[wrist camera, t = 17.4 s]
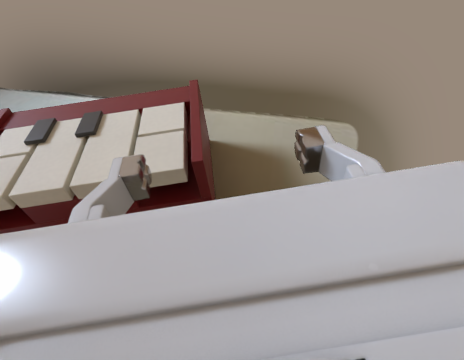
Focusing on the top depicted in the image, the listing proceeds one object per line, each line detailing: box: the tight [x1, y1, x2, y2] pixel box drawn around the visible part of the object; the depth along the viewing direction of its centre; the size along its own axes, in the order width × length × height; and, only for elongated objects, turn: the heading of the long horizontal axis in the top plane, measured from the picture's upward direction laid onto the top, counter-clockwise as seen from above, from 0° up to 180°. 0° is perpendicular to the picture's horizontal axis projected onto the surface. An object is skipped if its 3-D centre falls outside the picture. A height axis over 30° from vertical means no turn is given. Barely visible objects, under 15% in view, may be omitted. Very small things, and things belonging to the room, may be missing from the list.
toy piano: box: [0, 80, 215, 234], centre depth 26 cm, size 19×12×7 cm, turn 97°
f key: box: [134, 131, 188, 187], centre depth 21 cm, size 4×4×1 cm
